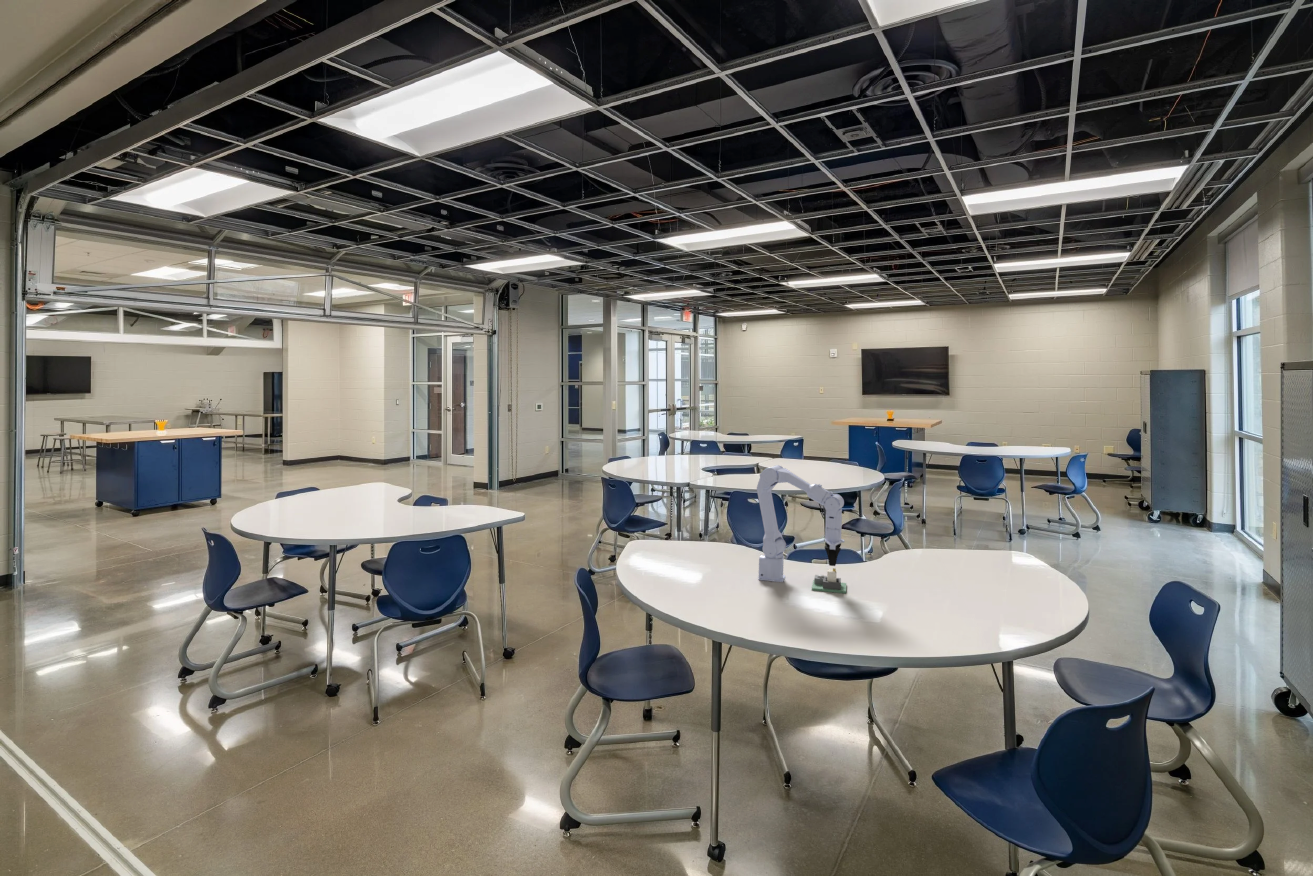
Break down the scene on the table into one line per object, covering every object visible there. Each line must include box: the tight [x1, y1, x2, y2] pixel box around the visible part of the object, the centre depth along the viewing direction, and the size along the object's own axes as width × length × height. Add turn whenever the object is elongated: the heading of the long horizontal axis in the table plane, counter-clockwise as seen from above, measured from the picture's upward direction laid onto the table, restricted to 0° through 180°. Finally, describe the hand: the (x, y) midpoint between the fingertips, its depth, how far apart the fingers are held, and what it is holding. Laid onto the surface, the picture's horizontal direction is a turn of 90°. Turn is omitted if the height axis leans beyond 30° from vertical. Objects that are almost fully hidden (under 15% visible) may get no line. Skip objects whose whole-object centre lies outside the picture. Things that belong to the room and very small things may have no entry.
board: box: [811, 574, 847, 595], centre depth 229 cm, size 12×10×4 cm
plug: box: [826, 567, 838, 582], centre depth 228 cm, size 3×3×7 cm
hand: (832, 563), depth 227 cm, fingers open, 4 cm apart
